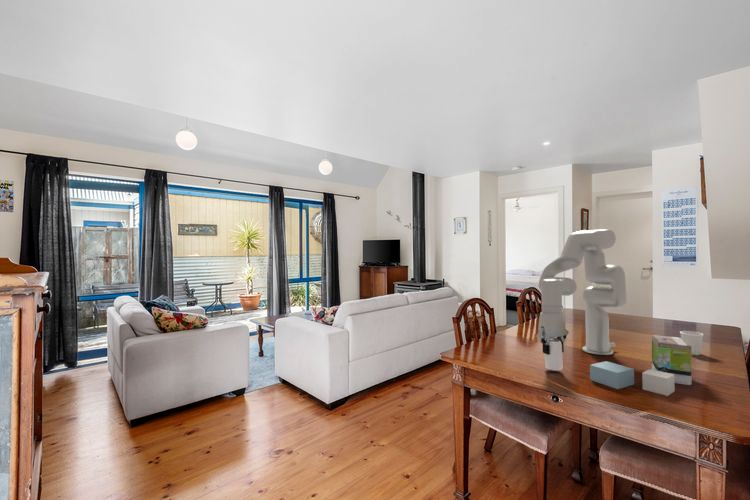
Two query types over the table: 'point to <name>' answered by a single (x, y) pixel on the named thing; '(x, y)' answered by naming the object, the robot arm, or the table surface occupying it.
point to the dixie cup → (693, 340)
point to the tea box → (672, 357)
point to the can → (554, 355)
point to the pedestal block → (612, 374)
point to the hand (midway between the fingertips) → (553, 352)
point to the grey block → (658, 382)
